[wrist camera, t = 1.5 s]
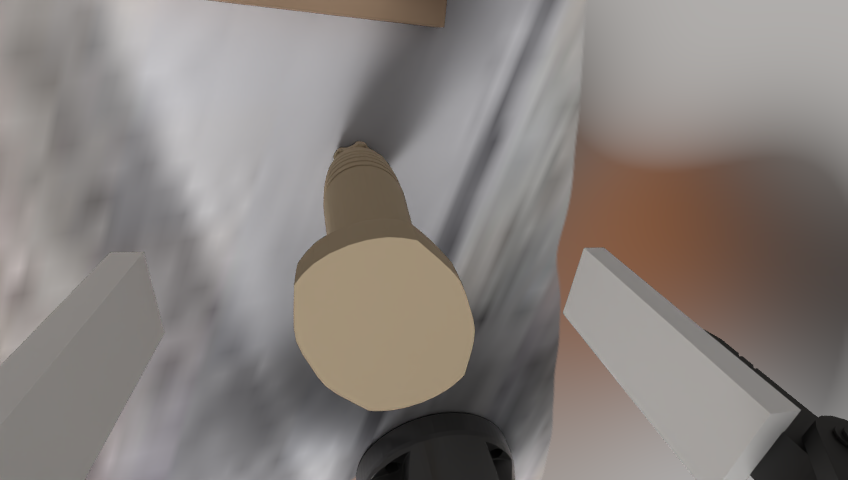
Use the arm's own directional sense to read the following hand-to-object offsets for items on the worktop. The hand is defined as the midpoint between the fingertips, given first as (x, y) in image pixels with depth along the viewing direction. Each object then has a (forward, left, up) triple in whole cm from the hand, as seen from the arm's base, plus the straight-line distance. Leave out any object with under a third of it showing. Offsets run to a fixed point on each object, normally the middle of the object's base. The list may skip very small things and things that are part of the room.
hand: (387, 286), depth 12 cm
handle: (0, 0, -14) cm, 14 cm away
